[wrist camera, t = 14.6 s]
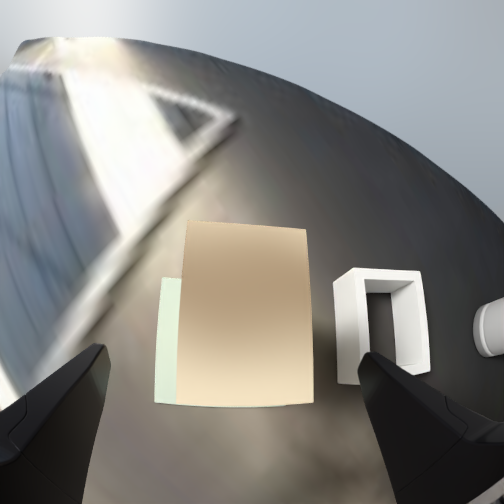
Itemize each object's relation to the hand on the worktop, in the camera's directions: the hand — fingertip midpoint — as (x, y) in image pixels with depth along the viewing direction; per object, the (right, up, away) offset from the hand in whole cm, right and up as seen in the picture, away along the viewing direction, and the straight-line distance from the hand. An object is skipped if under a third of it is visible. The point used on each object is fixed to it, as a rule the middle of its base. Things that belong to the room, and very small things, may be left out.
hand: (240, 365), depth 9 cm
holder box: (+10, -3, +12) cm, 16 cm away
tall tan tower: (-2, -3, +10) cm, 11 cm away
